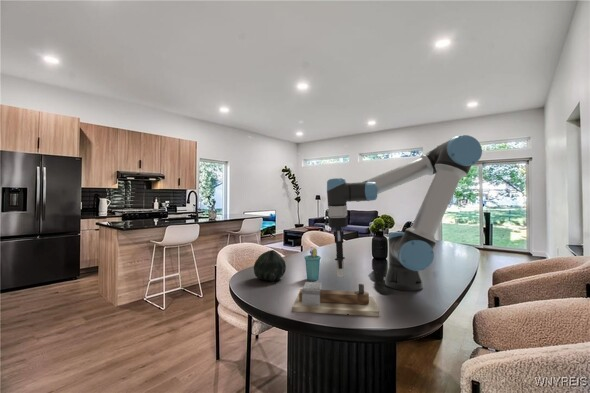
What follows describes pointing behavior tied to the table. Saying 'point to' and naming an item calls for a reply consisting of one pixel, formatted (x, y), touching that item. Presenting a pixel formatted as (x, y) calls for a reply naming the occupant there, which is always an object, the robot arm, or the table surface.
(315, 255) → the cup
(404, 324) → the table surface
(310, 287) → the block
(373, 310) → the pintle board
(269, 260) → the squash
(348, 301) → the wooden bar with peg
